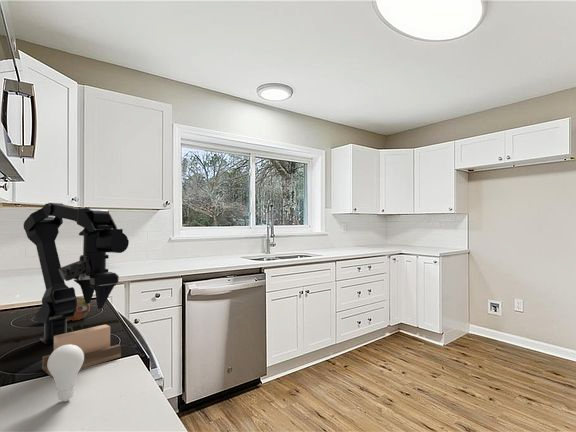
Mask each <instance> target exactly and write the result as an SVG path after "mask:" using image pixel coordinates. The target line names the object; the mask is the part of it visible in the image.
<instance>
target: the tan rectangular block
mask: <svg viewBox="0 0 576 432" xmlns="http://www.w3.org/2000/svg"><path fill="white" fill-rule="evenodd" d="M110 340H111V326H110V325H108V324H102V325H97V326H92V327H88V328H84V329H79V330H74V331H70V332H67V333H65V334H60V335H56V336H54V343H53V351H54V350H56V349H57V348H59V347H61V346H63V345H68V344H72V345H76V346H78V347H79V348H80V349H81V350H82V351H83V353H84V354H86V353H89V352H93V351H97V350H100V349H104V348H108V347H110Z"/></svg>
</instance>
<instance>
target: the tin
mask: <svg viewBox="0 0 576 432" xmlns="http://www.w3.org/2000/svg"><path fill="white" fill-rule="evenodd" d="M76 297H77V307H76V310H75V314H74V316H73V317H68V318H67V322H69V321H70V320H72V321H79V320H81V319H84V318H85V317H86V316H87V315H88V313H89V312H90V309H91V305H90V304H91V302H90V303H88V304H86V303H85V300H84V296H76Z"/></svg>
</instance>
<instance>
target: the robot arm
mask: <svg viewBox="0 0 576 432" xmlns="http://www.w3.org/2000/svg"><path fill="white" fill-rule="evenodd" d="M64 220H70V221H74V222H76V224H77V225H78V226H79V227H82V228H83V230H81V231H80V232H79V233H78V236H83V243H82V244H83V245H82V246H83V248H82V249H83V250H82V253H83V254H81V255H80V256H79V260H77V261H75V262H72V263H70V264H67V265H65V266H62V265H61V260H60V257H59V253H58V249H57V245H56V239H57V237H58V234H59V232H60V231H59V228H60V227H61V226H62V225H63V223H64V222H63V221H64ZM23 229H24V231H25V234H26V236H27V237H26V238H27V239H28V240H29V241H30V242H32V243H33V244H34V245H35V247H36V251H37V252H36V253H37V256H38V259H39V263H40V269H41V273H42V277H43V278H42V279H43V280H44V281H43V282H44V285H45V291H44V293H43V295H42V297H41V304H42V305H41V307H40V308H39V310H38V311H37V312H36V313H35V315H34V316H35V321H36V323H40V324H43V325H44V326H43V328H44V329H43V330H44V331H43V332H44V333H43V337H39V341H41V342H42V343H43V344H45V345H49V344H54V336H56V335H60V334H65V333H68V330H67V329H68V327H67V326H68V321H67V318H68V317H73V316H74V314H75V310H76V307H77V297H78V296H77V295H76V290H75V288H74V287H73V286H71V287H69V286H68V285H67V283H66V282H68V281H71V280H73V282H75V283H76V284H78V285H79V286H80V290H81V292H82V297H83V298H84V300H85V303H86V304H88V303H90V304H91V301H92V298H93V296H94V294H95V299H96V305H97V306H96V307H97V309H98V310H101V309H103V308H104V306H105V304H106V302H107V300H108V299H109V296H110V295H111V292H112V291H113V289H114V288H115V286H116V285H117V284H118V283H119V278H120V277H119V275H118V274H117V273H116V272H113V271H109V268H106V267H107V264H106V263H107V259H109V257H110V255H109V254H107V253H113V254H121V253H124V252H126V250H127V248H129V244H130V243H129V242H130V241H129V239H128V237H127V235H126V234H125V233H124V232H123V228H118V227H117V224H116V223H115V221H114V218H113V216H112V215H111V213H110V210H108V209H107V208H97V207H94V208H91V207H76V206H72V205H67V204H64V203H62V202H61V203H59V202H58V203H57V202H48V203H45V204H43V206H42V207H41V208H40V209H37V210H36V211H33V212H32V213H30V214H29V216H28V217H27V218H26V220H24V222H23ZM65 281H66V282H65Z"/></svg>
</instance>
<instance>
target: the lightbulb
mask: <svg viewBox="0 0 576 432" xmlns="http://www.w3.org/2000/svg"><path fill="white" fill-rule="evenodd" d="M49 355H50V354H49ZM83 361H84V353H83V351H82V350H81V349H80V348H79V347H78V346H76V345H72V344H68V345H63V346H61V347H59V348H57V349H56V350H54V349H53V351H52V352H51V355H50V357H49V359H48V362H47V367H48V370H49V372H50V373H51V375H52V376H53V379H54V381H55V388H56V390H57V399H58V401H60V402H64V403H65V402H67V401H69V400H70V399H72V398H73V397H74V390H75V389H74V387H75V386H76V380H77V376H78V373H79V372H80V370H81V369H80V368H81V366H82V364H83Z"/></svg>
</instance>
